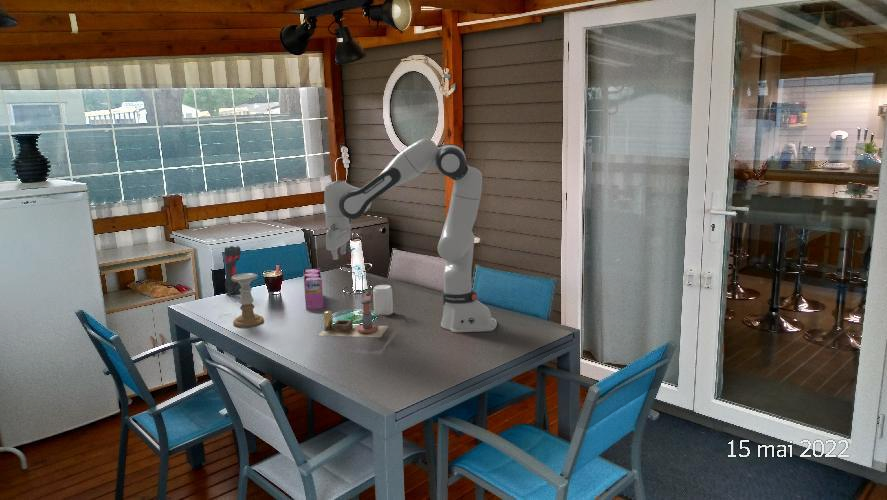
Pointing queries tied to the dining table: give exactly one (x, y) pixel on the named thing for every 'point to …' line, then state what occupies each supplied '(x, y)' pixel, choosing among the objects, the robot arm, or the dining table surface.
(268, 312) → the dining table surface
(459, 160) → the robot arm
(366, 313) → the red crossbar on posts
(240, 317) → the candle holder
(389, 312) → the white tapered cylinder
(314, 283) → the gum box
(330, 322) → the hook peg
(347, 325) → the brown box
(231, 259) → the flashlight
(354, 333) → the board
